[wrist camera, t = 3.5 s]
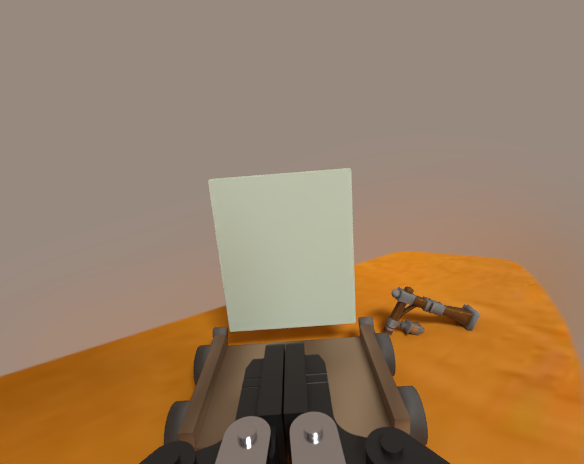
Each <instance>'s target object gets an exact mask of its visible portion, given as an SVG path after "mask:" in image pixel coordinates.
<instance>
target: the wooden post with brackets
mask: <svg viewBox="0 0 584 464" xmlns="http://www.w3.org/2000/svg"><path fill="white" fill-rule="evenodd" d="M392 296H393V297H395V298H396V299H397V300H398V302H397V304H396V306H395V308H394V310H393V312H392V314H391V316H389V317H388V319H387V321H386V323H387V324H386V325H385V328H384V329H383V330H384V331H385V333H387V334H389V335H392V332H393V331H394V328H395V329H396V327H397V325H398V326H399V327H401V329H403V330H404V331H405V332H406V333H407V335H408V334H409V333H412V334H415V335H419V334H420V333H423V332H424V328H423V327H422V326H421V325H420V324H419V323H418V322H410V320H409V319H408V318H407V319H406V321H405V322H403V321H401V322H399V321H398V320H399V319H400V317H401V316H402V315H404V314H405V313H407V312H409V311H410V310H412V309H414V308H415V307H419V308H422V309H423V310H424V311H426V312H427V311H428V312H429V313H433V314H436V315H439V316H442V315H443V316H446V317H449V318H451V319H454V320H456V321H458V322H459V323H460V324H461V325H462V326H463V327H465V328H466V329H467V330H471V331H472V330H473V328H474V326H475V324H476V322H477V320H478V318H479V316H480V313H478V312H477V311H476V310H474V309H473V308H472V307H470V306H469V305H465V304H464V306H463V308H457V307H451V306H446V305H443V304H441V303H440V302H436V301H434V300H431V299H430V298H429V299H428V298H427V297H424V296H423V298H422V297H419V296H416V295H414V294H413V289H412V288H411V287H405V289H401V288H399V287H398V289H394V290H393V291H392ZM406 304H409V305H410V306H408V307H407V308H405V306H406ZM404 308H405V309H404ZM399 323H400V324H399Z"/></svg>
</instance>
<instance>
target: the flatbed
mask: <svg viewBox="0 0 584 464" xmlns="http://www.w3.org/2000/svg"><path fill="white" fill-rule="evenodd" d="M358 321H359V328H360V337H346V338H332V339H317V340H303V341H289V342H274V343H260V344H246V345H231V346H228V342H227V339H228V328H227V327H217V328H214V329H213V341H212V345H203V346H199V347H198V349H197V351H196V354H195V360H194V381H195V385H196V388H195V390H194V393H193V395H192V398H191V400H190V401H176V402H175V403H174V404H173V405H172V406H171V408H170V411H169V413H168V416H167V420H166V425H165V432H164V445H165V444H167V443H170V442H173V441H185V442H188V443H190V444H191V445H192V446H193V448H194V450H195V451H198V450H201V449H203V448H206V447H209V446H211V445H214V444H216V443H218V442H219V441H221V440H222V439H223V437H224V434H225V432H226V430H227V428H228V427H229V426H230V425H231V424H232V423H233V422H235V418H236V413H237V408H238V403H239V399H240V394H241V389H242V384H243V381H244V374H245V369H246V367H247V366H248V365H249V363H250V362H251V361H252V360H253V359H262V358H264V354H265V346H266V345H268V344H281V343H284V344H285V345H286V343H293V342H304V349H305V355H313V354H319V355H320V357H321V358H322V359H323V360H324V361H325V364H326V371H327V377H328V383H329V390H330V396H331V403H332V409H333V415H334V418H335V420H336V422H337V424H338V425H339V426H340V427H341V428H342V429H344V430H345V431H347V432H349V433H351V434H354V435H358V436H362V437H368V435H369V434H370V433H371V432H372V431H374V430H375V429H377V428H381V427H394V428H397V429H400V430H402V431H404V432H406V433H407V434H409V435H410V436H412V437H413V438H414V439H416V440H417V441H419V442H420V443H422V444H423V445H424V446H425V445H426V444H427V439H428V430H427V422H426V417H425V412H424V408H423V405H422V402H421V399H420V396H419V394H418V392H417V390H416V389H415V388H414V387H413V386H401V387H397V386H396V384H395V381H394V379H393V377H392V376H394V374H395V356H394V350H393V346H392V342H391V339H390V337H389V335H388V334H387V333H375V330H374V324H373V319H372V317H359V319H358ZM288 460H289V458H288Z"/></svg>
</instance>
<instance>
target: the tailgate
mask: <svg viewBox="0 0 584 464" xmlns="http://www.w3.org/2000/svg"><path fill="white" fill-rule="evenodd" d="M208 183H209V190H210V196H211V204H212V211H213V218H214V225H215V232H216V238H217V245H218V253H219V260H220V266H221V273H222V280H223V287H224V294H225V301H226V308H227V315H228V322H229V329H230V332H236V331H251V330H265V329H279V328H293V327H307V326H322V325H336V324H350V323H356V314H355V281H354V248H353V217H352V215H353V214H352V183H351V169H349V168H345V169H333V170H321V171H308V172H295V173H283V174H269V175H257V176H244V177H231V178H218V179H211V180H208Z"/></svg>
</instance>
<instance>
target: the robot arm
mask: <svg viewBox="0 0 584 464" xmlns="http://www.w3.org/2000/svg"><path fill="white" fill-rule="evenodd" d="M288 458H289V464H450V463H449V462H447V461H446V460H444V459H443V458H442V457H440V456H439V455H437V454H436V453H434V452H433V451H432V450H430V449H429V448H427V447H426V446H424V445H423V444H422V443H420V442H419V441H417V440H416V439H414V438H413V437H412V436H410V435H409V434H407V433H406V432H404V431H402V430H400V429H397V428H394V427H381V428H377V429H375V430H374V431H372V432H371V433H370V434H369V435H368V437H362V436H358V435H354V434H351V433H349V432H347V431H345V430H344V429H342V428H341V427H340V426H339V425H338V424H337V422H336V420H335V418H334V415H333V409H332V403H331V396H330V390H329V383H328V377H327V371H326V364H325V361H324V360H323V359H322V358H321V357H320V355H319V354H313V355H305V349H304V342H293V343H286V345H285V344H284V343H281V344H268V345H266V346H265V354H264V358H262V359H253V360H252V361H251V362H250V363H249V365H248V366H247V367H246V369H245V374H244V381H243V384H242V389H241V394H240V399H239V403H238V408H237V413H236V418H235V422H233V423H232V424H231V425H230V426H229V427H228V428H227V430H226V432H225V434H224V437H223V439H222V440H221V441H219V442H218V443H216V444H214V445H211V446H209V447H206V448H203V449H201V450H198V451H195V450H194V448H193V446H192V445H191V444H190V443H188V442H185V441H173V442H170V443H167V444H165V445H163V446H161V447H159V448H158V449H157V450H155V451H154V452H153V453H152V454H150V455H149V456H148V457H147V458H145V459H144V460H143V461H142V462H141V463H139V464H288Z"/></svg>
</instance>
